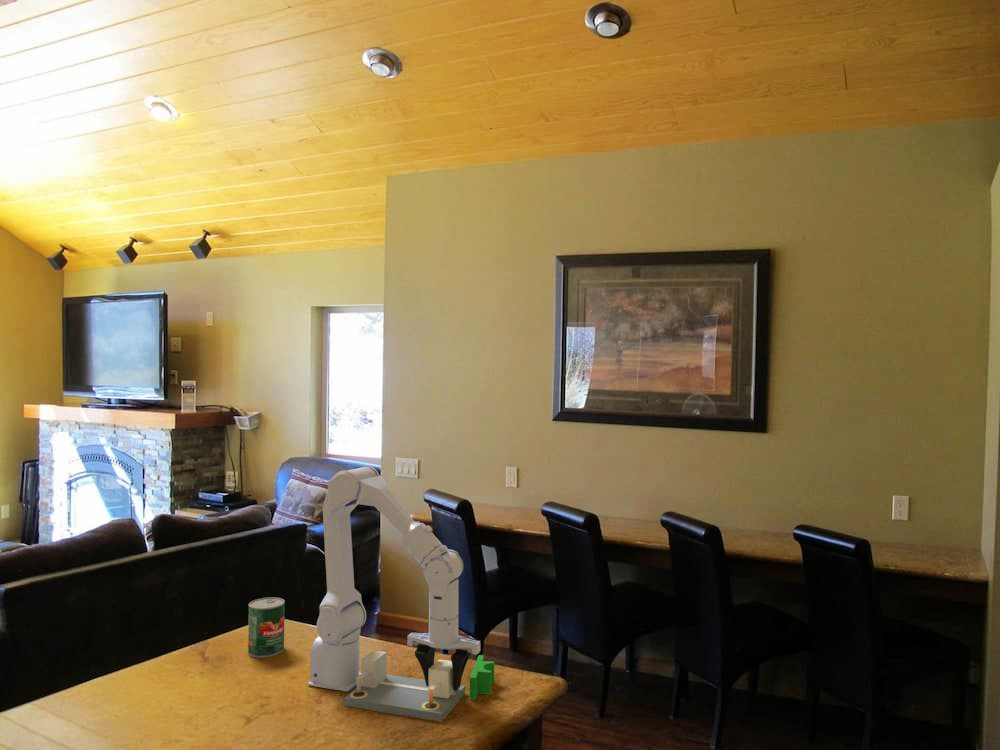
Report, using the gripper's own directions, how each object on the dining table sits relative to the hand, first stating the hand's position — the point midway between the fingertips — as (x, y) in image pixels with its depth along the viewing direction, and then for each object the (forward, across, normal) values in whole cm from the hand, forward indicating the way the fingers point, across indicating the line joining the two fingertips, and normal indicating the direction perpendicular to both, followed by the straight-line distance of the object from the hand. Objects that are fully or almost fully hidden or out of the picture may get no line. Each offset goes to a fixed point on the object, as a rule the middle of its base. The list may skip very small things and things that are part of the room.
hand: (443, 686), depth 131 cm
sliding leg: (+1, 0, +2) cm, 2 cm away
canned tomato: (+3, +48, -10) cm, 49 cm away
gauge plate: (+3, +7, +2) cm, 8 cm away
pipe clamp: (+3, -6, -8) cm, 10 cm away
